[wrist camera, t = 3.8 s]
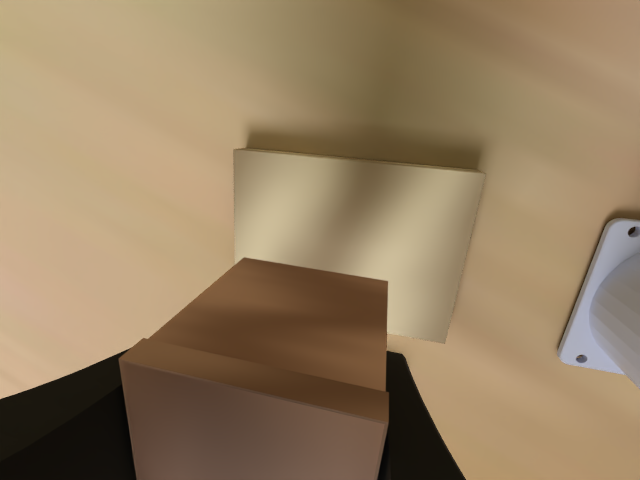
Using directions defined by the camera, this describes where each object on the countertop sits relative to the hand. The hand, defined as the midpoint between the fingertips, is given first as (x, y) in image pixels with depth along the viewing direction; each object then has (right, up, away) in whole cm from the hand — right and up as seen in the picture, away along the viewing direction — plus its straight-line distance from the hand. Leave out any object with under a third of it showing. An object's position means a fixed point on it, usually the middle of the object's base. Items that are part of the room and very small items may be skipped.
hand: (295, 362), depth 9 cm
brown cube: (0, +1, +1) cm, 2 cm away
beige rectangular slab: (+2, +4, +9) cm, 10 cm away
